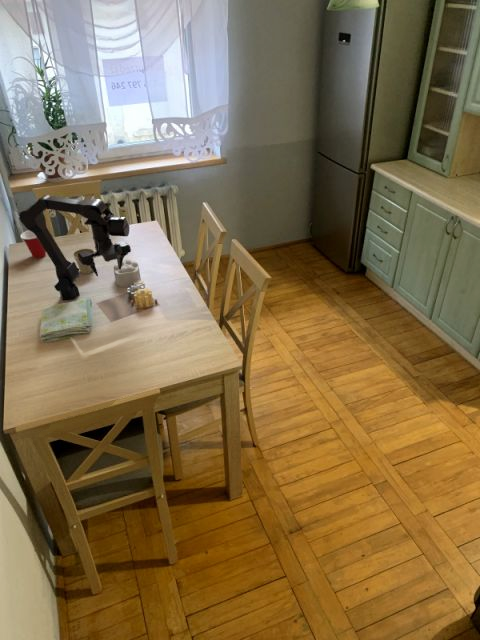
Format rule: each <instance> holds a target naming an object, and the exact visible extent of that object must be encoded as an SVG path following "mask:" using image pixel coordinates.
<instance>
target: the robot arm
mask: <svg viewBox="0 0 480 640" xmlns="http://www.w3.org/2000/svg"><path fill="white" fill-rule="evenodd" d="M46 210H52V211H53V210H54V211H59V212H64V213H69V214H70V213H72V214H77V215H79V216H81V217H83V218H84V219H86V220H85V222H84V225H85V226H86V225H88V226H90V227H91V228H90V229H91V232H92V240H93V242H94V250H95V252H93V253H90V252H89V251H84V252H80V253H79V254H78V259H79V261H80V262H81V263H82V264H83V265H87V266H89V265H90V267H91V268H92V270H93V273H94V274H95V276H96V277H99V275H98V270H97V268H96V263H95V258H99V257H102V258H103V259H104V261H105V262H110V261H114V260H116V261H117V262H116V263H118V267H119V269H120V270H121V267H122V262H123V260H124V258H125V257H126V256H128V254H129V253H132V249H131V246H130V244H128V243H127V241H125V240H121V241H119V242H115V243H114V244H113V241H112V238H111V237H128V236H129V234H130V224H129V222H128V220H126V217H125V216H121V217H114V216H115V215H114V214H115V213H113V212H112V211H111V210H110V209H109V208H108V207H107V205H106V203H105V202H104V201H103V199H99V198H93V199H92V198H90V199H84V200H80V199H79V200H78V199H70V198H65V197H59V196H58V197H57V196H52V195H48V194H44V195H42V196H41V197H39V198H38V199H37V201H36V202H35V203H34V204H30V205H29V206H27V207H26V208H25V209H23V210H22V211H21V212H19V215H18V218H19V220H20V223H22V225H23V226H24V227H25V229H26V230H27V231H28V230H30V231H31V232H33V233H34V234H35V235H36V237H37V238H38V240H39V242H40V243H41V245H42V246H43V248H44V249H45V251H46V255H47V256H48V257H49V259H50V260H51V262H52V264H53V266H54V268H55V274H56V278H57V279H58V282H56V283H55V285H54V287H53V288H54V289H55V290H56V292H59V295H60V297H59V299H62V301H64V302H65V301H68V302H69V301H73V300H74V299H76V298H77V297H79V296H80V291H79V288H78V285H76V282H77V280H78V278H80V273H81V272H80V269H79V267H78V265H77V263H76V261H72V262H70V261H69V260H67V257H66V256H65V255H64V253H63V252H62V249H60V247H59V245H58V244H57V242H56V241H55V238H54V237H53V235H52V233H51V232H50V230H49V228H48V227H47V221H46V220H47V218H46V216H45V214H44V212H45V211H46ZM103 215H104V216H103ZM110 236H111V237H110ZM93 258H94V260H93ZM93 261H94V262H93Z"/></svg>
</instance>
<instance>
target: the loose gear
mask: <svg viewBox="0 0 480 640" xmlns="http://www.w3.org/2000/svg"><path fill="white" fill-rule="evenodd" d="M134 297H135V303H136V306H140V307H142V308H143V307H145V306H146V307H148V306H149V305H150V304H153V299H152V297H153V292H152V290H151V289H148V288H146V287H145V288H144V289H138V290H137V291H135V292H134Z"/></svg>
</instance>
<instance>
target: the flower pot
mask: <svg viewBox="0 0 480 640" xmlns="http://www.w3.org/2000/svg"><path fill="white" fill-rule="evenodd" d="M84 251H89V252H90V253H93V252H96V250H95V249H92V248H88V247H87V248H80V249H79V248H78V249H77V250H74V252H73V253H72V254H71V255H72V257H73V258H74V260H75V263H76V265H77V268H78V269H80V270H79V273H81V274H88V273H89V274H90V273H92V272H93V273H94V271H93V270H92V268H91V267H90V265H89V266H87V265H83V264H82V263H81V262H80V261H79V259H78V254H79V253H80V252H84ZM93 260H94V261H93V262H94V263H95V258H93Z"/></svg>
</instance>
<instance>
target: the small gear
mask: <svg viewBox="0 0 480 640" xmlns="http://www.w3.org/2000/svg"><path fill="white" fill-rule="evenodd" d="M137 285H140V286H143V287H144V288H146V282H145V281H144V280H141V281H139V280H138V281H136V282H134V286H137Z"/></svg>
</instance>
